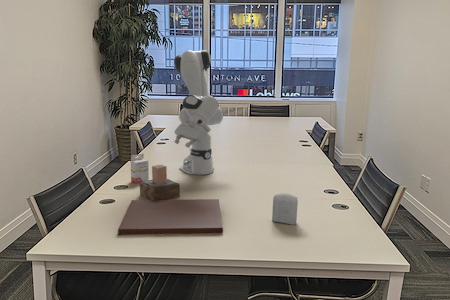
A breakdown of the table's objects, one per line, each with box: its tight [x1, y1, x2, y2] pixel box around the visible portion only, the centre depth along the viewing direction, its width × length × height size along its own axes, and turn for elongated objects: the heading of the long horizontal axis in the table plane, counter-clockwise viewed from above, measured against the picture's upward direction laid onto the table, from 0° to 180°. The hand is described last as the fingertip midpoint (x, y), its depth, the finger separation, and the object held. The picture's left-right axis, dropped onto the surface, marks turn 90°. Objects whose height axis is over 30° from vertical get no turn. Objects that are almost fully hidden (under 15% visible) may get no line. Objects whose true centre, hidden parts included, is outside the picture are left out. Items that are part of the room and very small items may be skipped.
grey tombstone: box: [271, 192, 299, 225], centre depth 169 cm, size 10×4×12 cm, turn 69°
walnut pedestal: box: [139, 178, 181, 200], centre depth 201 cm, size 14×14×7 cm
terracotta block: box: [151, 164, 168, 184], centre depth 199 cm, size 5×5×8 cm
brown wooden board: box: [117, 198, 224, 236], centre depth 174 cm, size 40×3×33 cm
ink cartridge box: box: [130, 153, 150, 184], centre depth 224 cm, size 9×5×15 cm, turn 135°
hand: (181, 144), depth 203 cm, fingers open, 8 cm apart
